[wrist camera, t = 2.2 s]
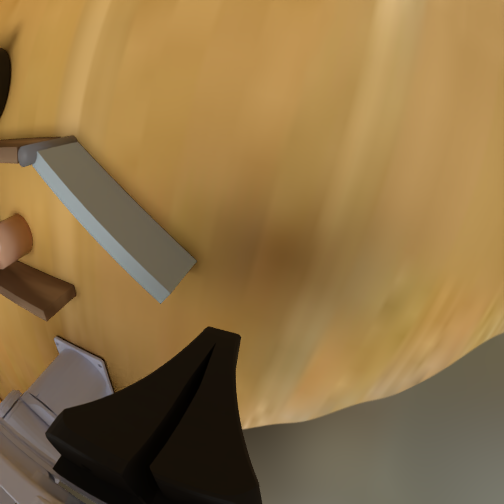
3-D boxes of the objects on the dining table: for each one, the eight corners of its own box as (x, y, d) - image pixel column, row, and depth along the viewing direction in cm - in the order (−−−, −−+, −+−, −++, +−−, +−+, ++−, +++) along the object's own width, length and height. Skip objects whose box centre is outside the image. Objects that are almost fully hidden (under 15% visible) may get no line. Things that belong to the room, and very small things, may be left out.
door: (197, 260, 20) (165, 300, 16) (186, 271, 21) (153, 312, 16) (70, 132, 18) (21, 142, 13) (63, 146, 18) (16, 158, 14)
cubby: (75, 295, 25) (46, 321, 21) (4, 262, 27) (-21, 279, 22) (60, 137, 18) (17, 146, 14) (-12, 141, 20) (-43, 150, 16)
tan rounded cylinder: (36, 256, 24) (9, 274, 21) (15, 247, 25) (-10, 263, 21) (29, 217, 22) (0, 232, 19) (8, 211, 23) (-19, 224, 19)
